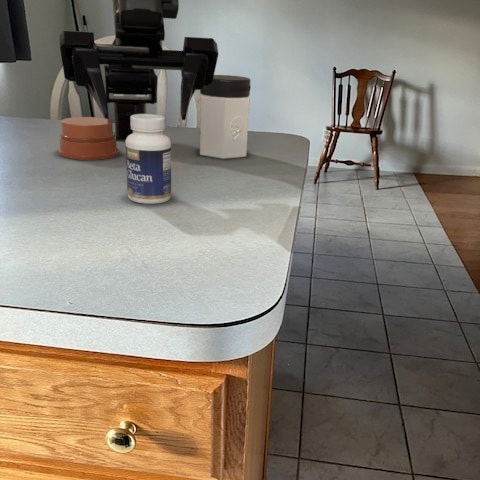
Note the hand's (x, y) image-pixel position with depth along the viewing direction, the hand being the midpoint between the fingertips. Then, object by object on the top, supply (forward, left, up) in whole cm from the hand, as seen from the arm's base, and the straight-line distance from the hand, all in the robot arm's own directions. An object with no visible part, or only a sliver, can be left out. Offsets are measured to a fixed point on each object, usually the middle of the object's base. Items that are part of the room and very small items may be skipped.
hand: (146, 117), depth 65 cm
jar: (-27, +7, -9) cm, 29 cm away
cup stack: (-20, -14, -9) cm, 26 cm away
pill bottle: (+2, +1, -10) cm, 10 cm away
